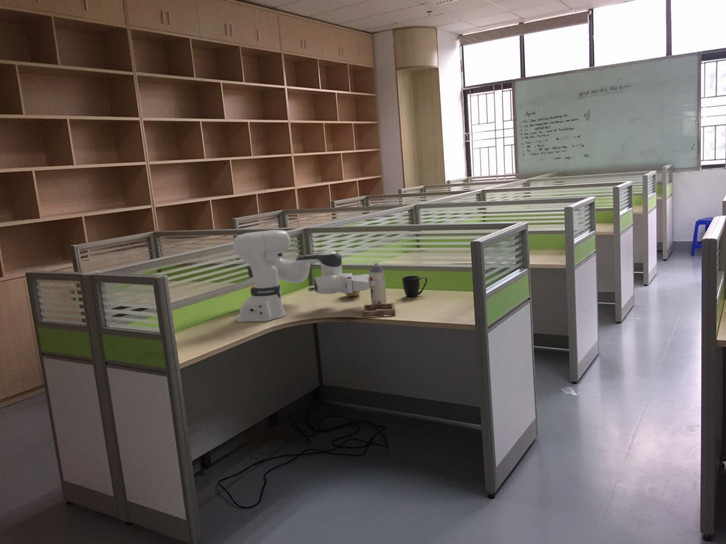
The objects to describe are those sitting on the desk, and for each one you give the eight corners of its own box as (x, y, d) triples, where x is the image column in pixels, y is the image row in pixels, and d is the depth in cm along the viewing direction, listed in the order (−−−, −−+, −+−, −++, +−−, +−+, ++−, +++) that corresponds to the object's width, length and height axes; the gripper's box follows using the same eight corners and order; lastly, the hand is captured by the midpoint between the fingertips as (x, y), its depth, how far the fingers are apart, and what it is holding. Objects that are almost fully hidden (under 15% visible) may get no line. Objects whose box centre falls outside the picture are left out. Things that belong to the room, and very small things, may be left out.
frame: (364, 317, 264) (363, 311, 263) (364, 310, 277) (364, 305, 276) (395, 315, 263) (395, 309, 263) (394, 308, 276) (393, 302, 276)
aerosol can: (371, 305, 286) (368, 262, 283) (386, 304, 286) (383, 261, 283) (371, 308, 280) (368, 265, 276) (386, 307, 279) (383, 264, 276)
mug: (429, 296, 294) (428, 277, 293) (404, 299, 294) (403, 279, 292) (426, 293, 302) (425, 274, 301) (402, 295, 302) (401, 276, 300)
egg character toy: (346, 300, 302) (344, 278, 300) (340, 295, 313) (338, 275, 311) (365, 297, 304) (363, 276, 303) (359, 293, 316) (357, 272, 314)
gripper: (350, 285, 292) (379, 283, 292) (348, 294, 272) (380, 291, 271) (349, 272, 291) (378, 270, 290) (347, 280, 271) (378, 277, 270)
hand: (379, 280), depth 281 cm, fingers closed on aerosol can, 7 cm apart
